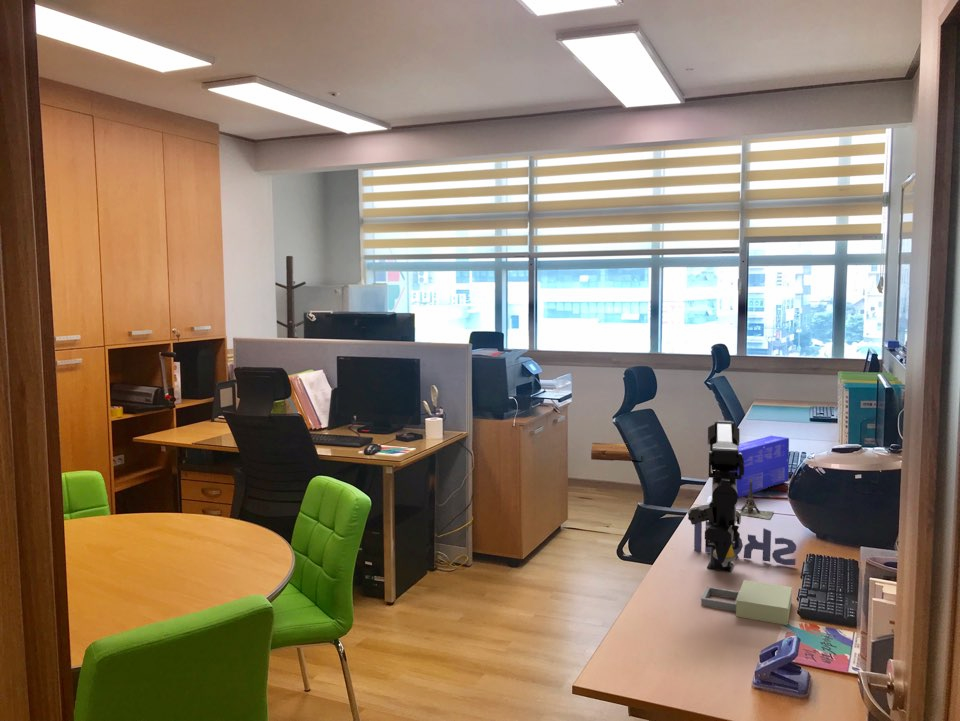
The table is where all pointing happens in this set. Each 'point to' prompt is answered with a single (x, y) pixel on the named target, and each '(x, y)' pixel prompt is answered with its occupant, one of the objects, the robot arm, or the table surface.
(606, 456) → the brown wooden slab
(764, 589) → the green box with handle
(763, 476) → the toner cartridge box
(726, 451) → the robot arm
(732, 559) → the yellow cone shape
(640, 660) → the table surface
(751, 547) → the signage
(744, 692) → the table surface
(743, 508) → the eiffel tower figurine
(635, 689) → the table surface
